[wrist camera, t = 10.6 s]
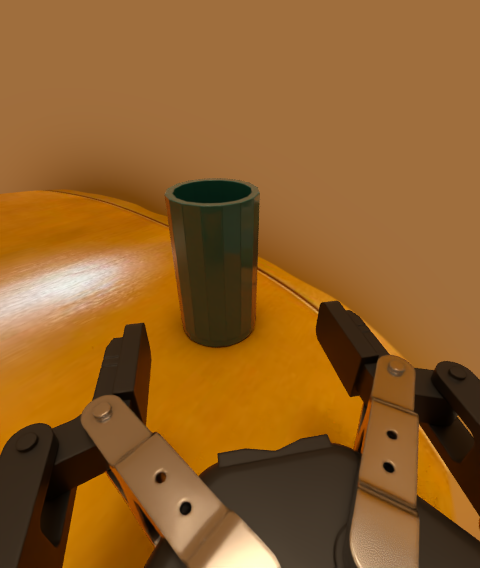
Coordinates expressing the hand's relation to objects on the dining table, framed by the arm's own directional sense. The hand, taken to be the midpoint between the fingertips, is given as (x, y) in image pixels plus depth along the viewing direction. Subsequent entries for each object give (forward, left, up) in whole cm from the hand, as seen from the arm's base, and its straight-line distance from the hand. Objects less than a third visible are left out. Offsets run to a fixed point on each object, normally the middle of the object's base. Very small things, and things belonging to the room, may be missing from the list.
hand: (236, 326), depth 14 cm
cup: (+5, -8, -7) cm, 12 cm away
